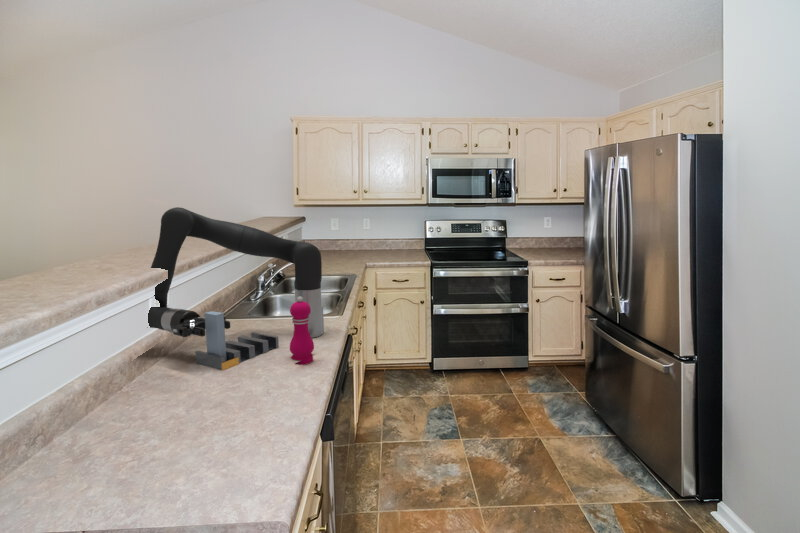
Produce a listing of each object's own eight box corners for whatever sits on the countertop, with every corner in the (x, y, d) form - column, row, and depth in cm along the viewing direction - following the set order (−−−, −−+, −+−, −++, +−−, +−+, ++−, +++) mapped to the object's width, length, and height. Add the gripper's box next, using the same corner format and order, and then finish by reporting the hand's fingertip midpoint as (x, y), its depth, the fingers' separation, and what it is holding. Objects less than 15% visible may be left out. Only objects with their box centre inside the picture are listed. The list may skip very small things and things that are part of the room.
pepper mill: (309, 366, 132) (306, 299, 130) (286, 364, 134) (283, 298, 131) (318, 357, 139) (315, 294, 137) (296, 356, 141) (293, 293, 138)
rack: (254, 346, 151) (253, 332, 150) (279, 351, 145) (279, 336, 144) (196, 368, 132) (195, 351, 131) (223, 375, 126) (222, 358, 125)
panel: (215, 360, 133) (211, 311, 131) (226, 363, 131) (223, 313, 129) (208, 363, 131) (204, 313, 129) (219, 366, 129) (216, 315, 127)
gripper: (157, 314, 130) (194, 322, 122) (200, 304, 142) (236, 310, 135) (159, 340, 131) (196, 348, 123) (202, 327, 144) (237, 335, 136)
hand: (217, 328), depth 129 cm, fingers open, 8 cm apart
